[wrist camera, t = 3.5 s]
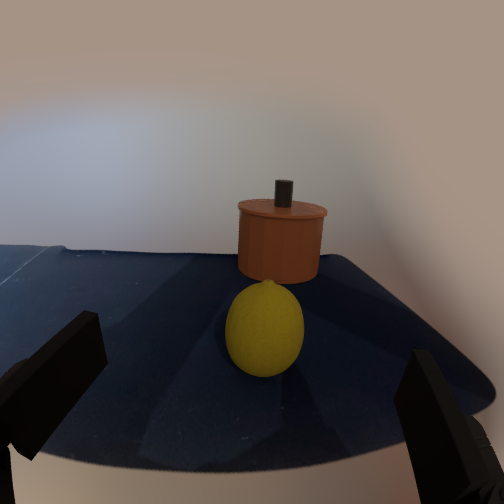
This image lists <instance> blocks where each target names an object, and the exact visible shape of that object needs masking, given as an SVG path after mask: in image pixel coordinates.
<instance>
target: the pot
mask: <svg viewBox="0 0 504 504" xmlns="http://www.w3.org/2000/svg"><path fill="white" fill-rule="evenodd" d="M239 219H240V220H239V243H238V244H239V245H238V268H239V270H240V271H241V272H242V273H243V274H244V275H246V276H248V277H250V278H252V279H255V280H258V281H262V282H263V281H264V280H266V279H269V280H273V281H274V282H275V284H295V283H302V282H306V281H309V280H311V279H313V278H314V277H315V276H316V275H317V272H318V264H319V256H320V248H321V239H322V230H323V220H324V217H322V218H316V219H281V218H271V217H264V216H258V215H253V214H249V213H245V212H243V211H241V210H240V218H239Z"/></svg>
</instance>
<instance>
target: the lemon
mask: <svg viewBox="0 0 504 504" xmlns="http://www.w3.org/2000/svg"><path fill="white" fill-rule="evenodd" d="M225 337H226V346H227V349H228V352H229V354H230V356H231V358H232V360H233V362H234V363H235V364H236V365H237V366H238V367H239V368H240V369H241V370H243V371H244V372H246V373H248V374H250V375H253V376H258V377H269V376H274V375H277V374H279V373H281V372H283V371H284V370H286V369H287V368H288V367H290V366H291V364H292V363H293V362H294V361H295V359H296V358H297V356H298V354H299V351H300V349H301V345H302V342H303V337H304V321H303V315H302V310H301V307H300V304H299V302H298V300H297V299H296V298H295V296H294V295H293V294H292V293H291V292H290V291H289V290H287V289H286V288H284V287H283V286H281V285H278V284H275V282H274V281H273V280H269V279H266V280H264V281H263V282H261V283H257V284H253V285H251V286H249V287H247V288H246V289H244V290H243V291H242V292H240V293H239V294H238V295H237V297H236V298H235V299H234V301H233V303H232V305H231V307H230V310H229V312H228V316H227V320H226V327H225Z"/></svg>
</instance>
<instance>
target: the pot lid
mask: <svg viewBox="0 0 504 504" xmlns="http://www.w3.org/2000/svg"><path fill="white" fill-rule="evenodd" d="M292 193H293V181H290V180H276V181H275V196H274V197H275V198H274V199H253V200H246V201H242V202H239V203H238V209H239V210H241V211H243V212H245V213H249V214H253V215H258V216H264V217H271V218H281V219H316V218H322V217H325V216H326V215H327V210H326V209H325V208H323V207H321V206H318V205H315V204H310V203H305V202H298V201H292Z"/></svg>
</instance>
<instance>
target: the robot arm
mask: <svg viewBox="0 0 504 504" xmlns="http://www.w3.org/2000/svg"><path fill="white" fill-rule="evenodd" d="M107 364H108V361H107V357H106V352H105V348H104V343H103V338H102V333H101V328H100V323H99V317H98V313H94V312H89V311H85V310H84V311H83V312H82V313H81V314H79V315H78V316H77V317H76V318H75V319H73V320H72V321H71V322H70V323H69V324H68V325H66V326H65V327H64V328H63V329H62V330H61V331H59V332H58V333H57V334H56V335H55V336H54V337H52V338H51V339H50V340H49V341H48V342H47V343H46V344H44V345H43V346H42V347H41V348H40V349H39V350H38V351H37V352H35V353H34V354H33V355H32V356H31V357H30V358H29V359H27V358H26V359H24V360H22V361H20V362H18V363H16V364H15V365H14V366H12V367H11V368H10V369H9V370H8V372H6V373H5V374H4V375H3V376H2V378H0V504H15V498H14V491H13V482H12V472H11V458H10V451H9V448H8V447H7V446H8V445H9V444H10V443H12V445H13V446H14V448H15V449H16V451H17V452H18V453H20V454H21V455H23V456H24V457H26V458H28V459H29V460H31V461H32V460H33V458H34V457H35V456H36V454H37V453H38V452H39V450H40V449H41V448H42V446H43V445H44V444H45V442H46V441H47V440H48V438H49V437H50V436H51V434H52V433H53V432H54V431H55V429H56V428H57V427H58V425H59V424H60V423H61V422H62V420H63V419H64V418H65V416H66V415H67V414H68V413H69V411H70V410H71V409H72V408H73V406H74V405H75V404H76V403H77V401H78V400H79V399H80V398H81V396H82V395H83V394H84V393H85V391H86V390H87V389H88V388H89V386H90V385H91V384H92V383H93V381H94V380H95V379H96V378H97V376H98V375H99V374H100V373H101V372H102V370H103V369H104V368H105V367H106V365H107ZM393 400H394V403H395V406H396V410H397V413H398V416H399V420H400V423H401V427H402V430H403V434H404V437H405V441H406V444H407V448H408V452H409V455H410V460H411V463H412V467H413V471H414V476H415V479H416V484H417V488H418V493H419V497H420V502H421V504H504V472H503V470H502V468H501V465H500V463H499V461H498V459H497V456H496V454H495V452H494V450H493V448H492V446H490V444H491V443H490V441H489V439H488V438H487V437H486V436H487V435H486V433H485V431H484V429H483V427H482V425H481V424H480V423H479V422H478V421H477V420H476V419H475V418H474V417H473V416H470V417H464V415H463V413H462V411H461V409H460V407H459V405H458V403H457V401H456V399H455V397H454V395H453V393H452V391H451V389H450V387H449V385H448V384H447V382H446V380H445V378H444V376H443V374H442V372H441V370H440V369H439V367H438V365H437V363H436V361H435V360H434V358H433V356H432V354H431V352H430V351H429V349H413V350H412V353H411V356H410V359H409V361H408V364H407V367H406V369H405V372H404V375H403V377H402V380H401V382H400V385H399V387H398V389H397V392H396V394H395V397H394V399H393Z"/></svg>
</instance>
